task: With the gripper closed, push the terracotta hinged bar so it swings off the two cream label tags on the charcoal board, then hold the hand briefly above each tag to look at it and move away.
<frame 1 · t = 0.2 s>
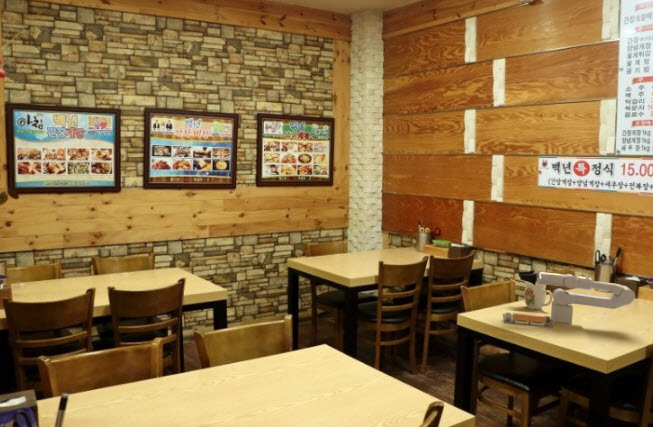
hand: (519, 275, 277), 21 cm above the table, tool horizontal, fingers open, 7 cm apart
board: (527, 322, 272), on the table
swing bar: (531, 317, 268), point 3 cm above the table, hinge at 0.0°
label b: (521, 321, 269), resting on board
label a: (536, 323, 268), resting on board
white floral mug: (535, 308, 300), on the table
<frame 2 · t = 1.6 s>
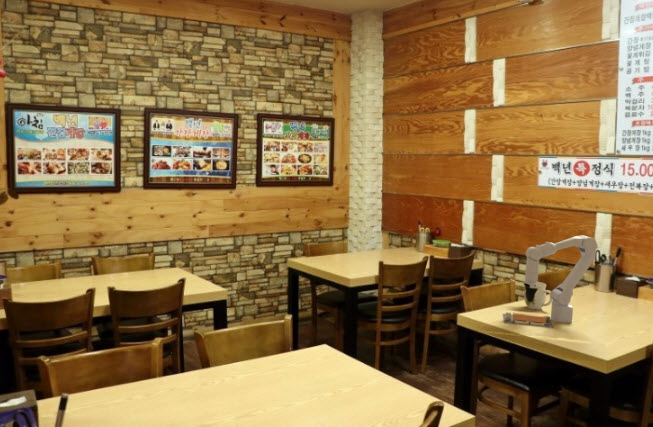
hand: (529, 299, 274), 10 cm above the table, tool pointing down, fingers open, 7 cm apart
nothing on the table moved.
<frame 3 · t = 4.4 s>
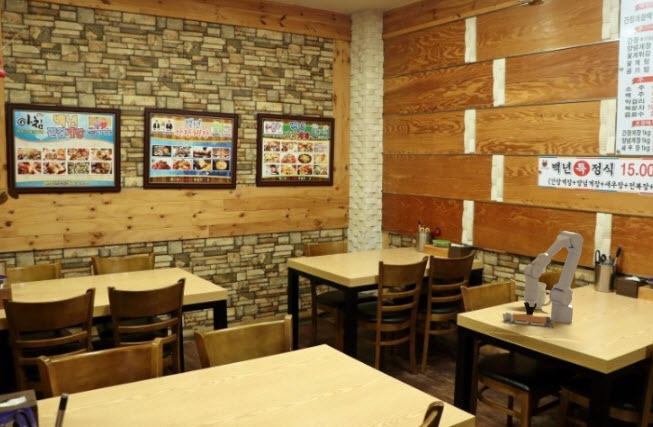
hand: (529, 318, 270), 3 cm above the table, tool pointing down, fingers closed, pressing on swing bar
swing bar: (531, 318, 268), point 3 cm above the table, hinge at 2.0°, touching gripper
everything else where it was.
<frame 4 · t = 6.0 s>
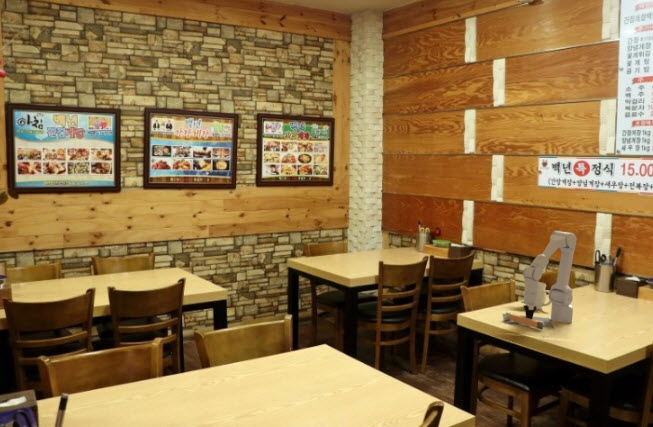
hand: (528, 321, 264), 3 cm above the table, tool pointing down, fingers closed
swing bar: (526, 321, 262), point 3 cm above the table, hinge at 42.0°, touching gripper
everything else where it was.
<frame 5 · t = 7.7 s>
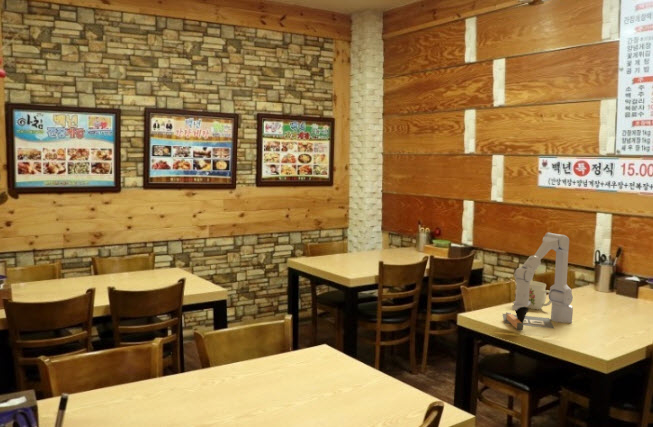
hand: (520, 322, 261), 3 cm above the table, tool pointing down, fingers closed
swing bar: (515, 321, 260), point 3 cm above the table, hinge at 76.5°, touching gripper
everything else where it was.
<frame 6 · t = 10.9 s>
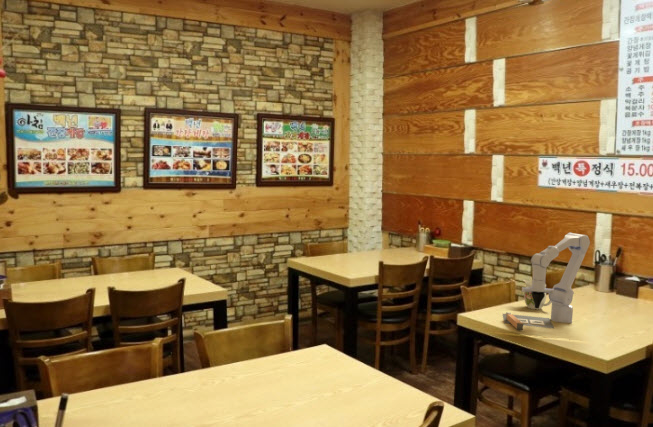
hand: (536, 307, 267), 8 cm above the table, tool pointing down, fingers closed
swing bar: (515, 321, 260), point 3 cm above the table, hinge at 76.5°
everything else where it was.
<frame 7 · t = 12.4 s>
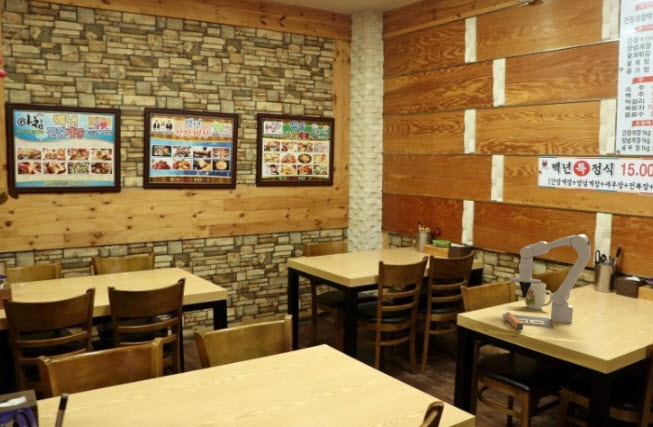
hand: (523, 297, 284), 9 cm above the table, tool pointing down, fingers closed
nothing on the table moved.
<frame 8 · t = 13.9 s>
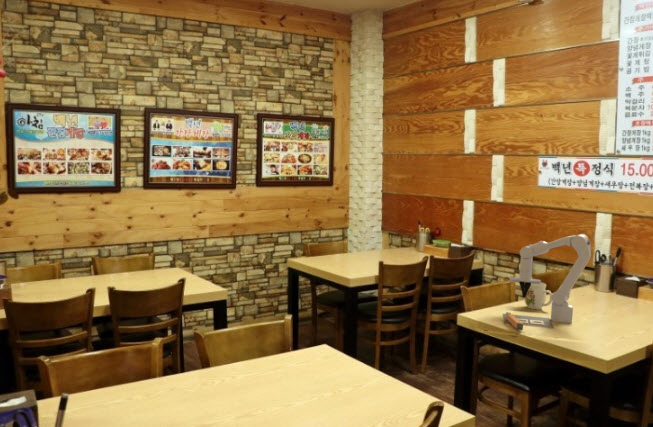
hand: (524, 297, 284), 9 cm above the table, tool pointing down, fingers closed
nothing on the table moved.
at the end: swing bar at +76° (first picture: +0°); white floral mug tilted 0° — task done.
